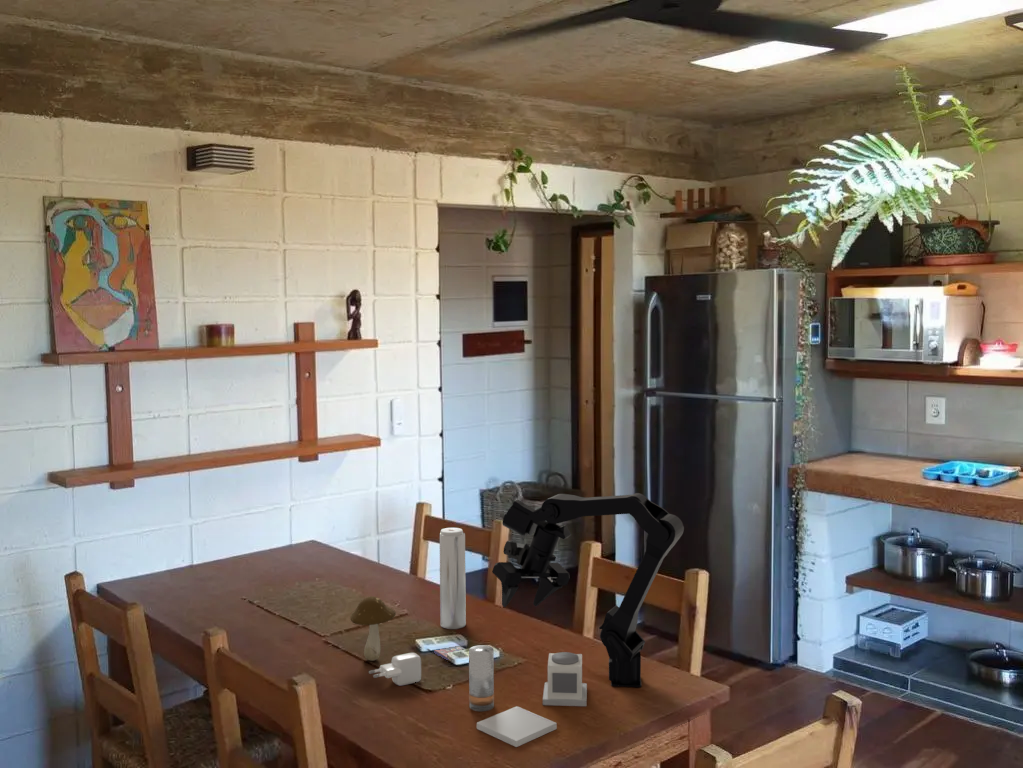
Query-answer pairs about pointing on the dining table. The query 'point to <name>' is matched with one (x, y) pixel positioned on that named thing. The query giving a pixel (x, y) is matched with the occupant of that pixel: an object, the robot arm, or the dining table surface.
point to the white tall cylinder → (452, 578)
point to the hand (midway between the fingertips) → (519, 605)
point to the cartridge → (481, 678)
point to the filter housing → (565, 680)
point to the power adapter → (401, 669)
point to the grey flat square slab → (516, 726)
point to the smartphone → (444, 651)
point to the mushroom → (372, 622)
